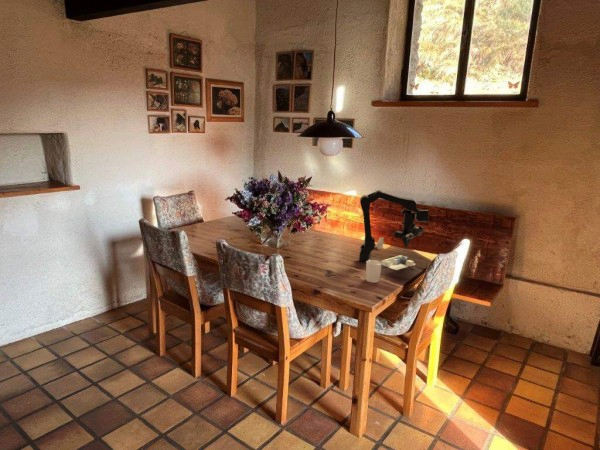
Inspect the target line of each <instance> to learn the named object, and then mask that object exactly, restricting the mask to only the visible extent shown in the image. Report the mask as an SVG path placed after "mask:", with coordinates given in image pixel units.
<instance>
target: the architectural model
mask: <svg viewBox="0 0 600 450" xmlns="http://www.w3.org/2000/svg"><path fill="white" fill-rule="evenodd" d="M375 246H376V250H381V249H383V247H384V237H379V238H378V241H377V242H375Z"/></svg>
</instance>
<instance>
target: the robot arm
mask: <svg viewBox="0 0 600 450" xmlns="http://www.w3.org/2000/svg"><path fill="white" fill-rule="evenodd" d="M379 199H380V200H384V201H387V202H391V203H394V204H396V205H399V206H402V208H403V209H402V210H401V211H400V213H402V214H404V215H403V221H402V222H401V225H402V228H401V230H397V231H394V232H393V237H395V238H398V239H401V241H402V242H403V245H404V247H405V248H408V246H409V245H410V243H411V240H412V239H413V238H417V237H420V236H422V234H423V233H424V229H425V227H424V226H422V225H421V226H416V225H417V224H416V223H415V220H416V221H417V222H422V223H423V222H424V223H428V222H429V217H430V216H429V209H419V208H418V207H417V202H416V201H415V200H414V199H413V198H411V197H403V196H402V197H401V196H397V195H393V194H391V193H387V192H384V191H382V190H376V191H374V192H372V193H368V194H367V195H365V194H364V195H361V197H360V198H359V203H360V208H361V211H362V214H363V215H362V216H363V227H364V243H363V244H362V245H361V246H360V247H359V248H360V249H359V250H360V252H359V256H358V261H359V262H360V263H362V264H363V263H364V264H366V261H368V260H372V259H371V258H372V257H371V256H372V254H371V253H372V252H373V251H374V250H375V247H376V238H375V236H372V225H371V218H370V217H371V216H370V212H371V211H370V209H371V204H372V203H374V202H375V201H377V200H379Z"/></svg>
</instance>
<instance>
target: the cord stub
mask: <svg viewBox="0 0 600 450" xmlns="http://www.w3.org/2000/svg"><path fill="white" fill-rule="evenodd" d="M398 258H400V257H398ZM400 262H401V263H404V264H406V265H407V266H409V267H413V266H414V265H413V263H415V262H414V260H411V259H407V260H406V259H403V258H400Z"/></svg>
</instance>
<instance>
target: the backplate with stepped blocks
mask: <svg viewBox="0 0 600 450" xmlns="http://www.w3.org/2000/svg"><path fill="white" fill-rule="evenodd" d="M398 257H400V258H403V259H406V260H408V256H405V255H402V254H399V255H397V256H396V255H395V256H394V257H393V256H392V257H390V258H386V259H382V260H381V261H380V262H382V265H381V266H383V267H386V268H388V269H389V268H390V269H392V270H395V271H400V270H401V269H406V268H408V267H410V266H407V265H406V264H404V263H401V262H400V258H398ZM415 265H416V263H415V262H413V266H415Z"/></svg>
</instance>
